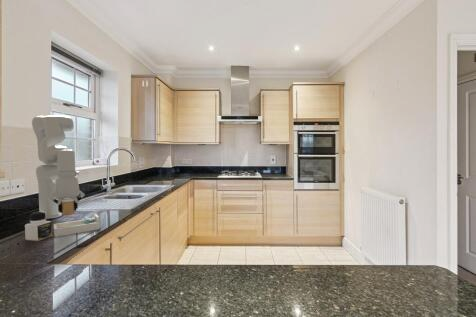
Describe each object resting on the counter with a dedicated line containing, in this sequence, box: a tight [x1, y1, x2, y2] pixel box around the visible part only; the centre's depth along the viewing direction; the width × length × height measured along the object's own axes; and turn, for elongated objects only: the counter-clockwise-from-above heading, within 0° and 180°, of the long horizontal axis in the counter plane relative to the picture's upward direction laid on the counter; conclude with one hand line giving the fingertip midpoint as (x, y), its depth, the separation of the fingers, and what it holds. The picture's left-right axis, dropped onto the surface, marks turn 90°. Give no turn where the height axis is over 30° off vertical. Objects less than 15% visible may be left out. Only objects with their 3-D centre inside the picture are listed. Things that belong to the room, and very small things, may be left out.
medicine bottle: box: [24, 211, 53, 242], centre depth 126 cm, size 7×7×12 cm
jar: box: [61, 197, 76, 216], centre depth 135 cm, size 6×6×8 cm
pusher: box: [83, 216, 95, 224], centre depth 141 cm, size 8×4×4 cm, turn 36°
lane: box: [53, 213, 101, 237], centre depth 138 cm, size 11×19×6 cm, turn 126°
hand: (68, 210), depth 135 cm, fingers closed on jar, 5 cm apart
